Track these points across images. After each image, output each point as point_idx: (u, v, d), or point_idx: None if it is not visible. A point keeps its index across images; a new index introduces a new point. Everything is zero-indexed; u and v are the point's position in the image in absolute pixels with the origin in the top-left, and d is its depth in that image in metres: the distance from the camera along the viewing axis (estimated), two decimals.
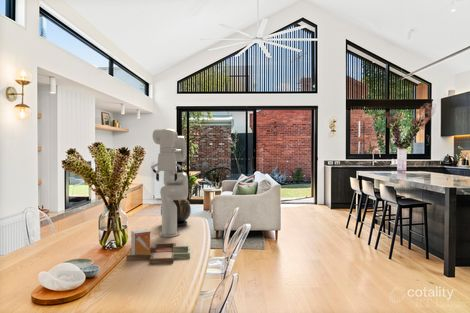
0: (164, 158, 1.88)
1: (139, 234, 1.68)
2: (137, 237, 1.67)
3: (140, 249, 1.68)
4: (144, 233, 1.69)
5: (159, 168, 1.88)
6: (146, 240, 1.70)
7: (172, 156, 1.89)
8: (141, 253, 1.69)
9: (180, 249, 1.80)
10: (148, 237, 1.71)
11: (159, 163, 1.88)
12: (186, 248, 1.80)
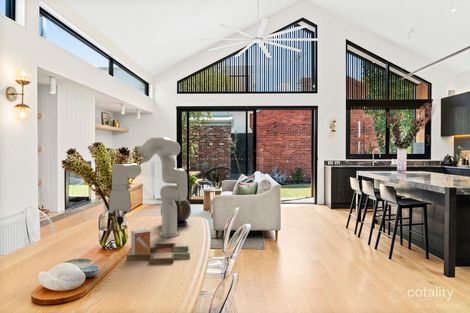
0: (116, 197, 1.67)
1: (139, 234, 1.68)
2: (137, 237, 1.67)
3: (140, 249, 1.69)
4: (144, 233, 1.69)
5: (111, 208, 1.67)
6: (146, 240, 1.70)
7: (126, 194, 1.68)
8: (141, 253, 1.69)
9: (180, 249, 1.80)
10: (148, 237, 1.71)
11: (111, 202, 1.67)
12: (186, 248, 1.80)
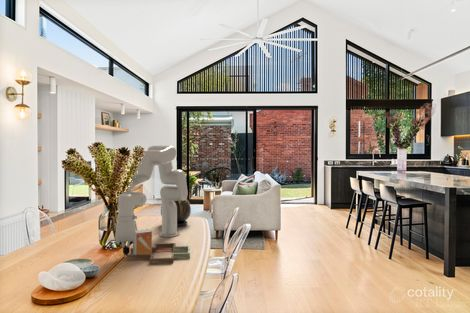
0: (122, 228, 1.68)
1: (140, 234, 1.68)
2: (138, 237, 1.67)
3: (141, 249, 1.68)
4: (146, 233, 1.69)
5: (117, 239, 1.68)
6: (148, 240, 1.70)
7: (132, 225, 1.69)
8: (142, 253, 1.69)
9: (180, 249, 1.80)
10: (150, 237, 1.70)
11: (117, 233, 1.68)
12: (186, 248, 1.80)
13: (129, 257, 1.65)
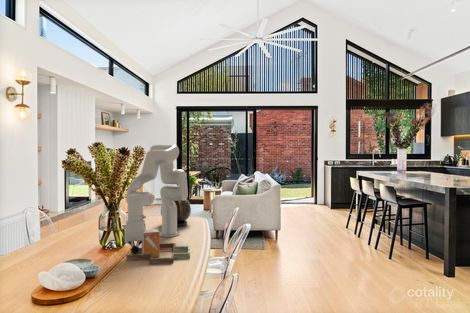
0: (131, 227, 1.68)
1: (148, 234, 1.68)
2: (146, 236, 1.68)
3: (149, 249, 1.69)
4: (153, 233, 1.69)
5: (126, 238, 1.69)
6: (155, 240, 1.70)
7: (142, 224, 1.69)
8: (150, 253, 1.69)
9: (180, 249, 1.80)
10: (157, 237, 1.70)
11: (126, 233, 1.68)
12: (186, 248, 1.80)
13: (129, 257, 1.65)
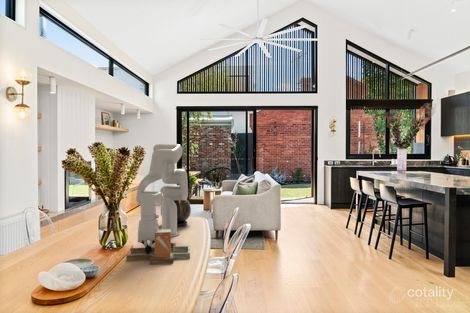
0: (144, 227, 1.69)
1: (159, 233, 1.69)
2: (157, 236, 1.68)
3: (160, 249, 1.69)
4: (164, 233, 1.69)
5: (139, 238, 1.69)
6: (166, 241, 1.69)
7: (155, 224, 1.70)
8: (161, 253, 1.69)
9: (180, 249, 1.80)
10: (168, 237, 1.70)
11: (140, 232, 1.69)
12: (186, 248, 1.80)
13: (129, 257, 1.65)
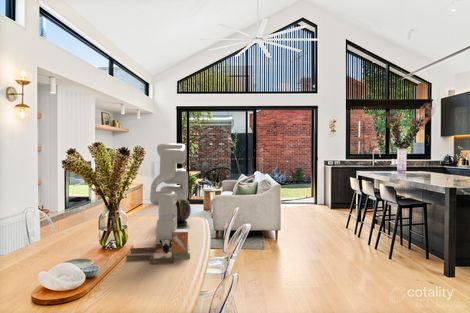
0: (162, 226, 1.70)
1: (176, 233, 1.69)
2: (174, 236, 1.69)
3: (177, 248, 1.70)
4: (181, 233, 1.70)
5: (158, 237, 1.70)
6: (183, 240, 1.70)
7: (172, 223, 1.71)
8: (178, 252, 1.70)
9: None
10: (185, 237, 1.70)
11: (158, 232, 1.70)
12: None
13: (129, 257, 1.65)
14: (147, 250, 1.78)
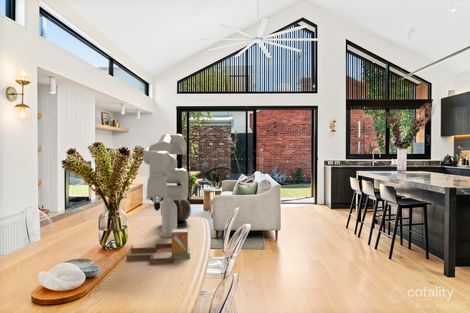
0: (153, 184, 1.72)
1: (176, 233, 1.69)
2: (174, 236, 1.69)
3: (177, 248, 1.70)
4: (181, 233, 1.70)
5: (149, 194, 1.72)
6: (183, 240, 1.70)
7: (163, 181, 1.73)
8: (178, 252, 1.70)
9: None
10: (185, 237, 1.70)
11: (149, 189, 1.72)
12: None
13: (129, 257, 1.65)
14: (147, 250, 1.78)
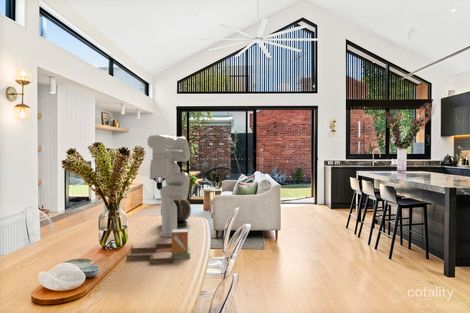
0: (156, 164, 1.86)
1: (176, 233, 1.69)
2: (174, 236, 1.69)
3: (177, 248, 1.70)
4: (181, 233, 1.70)
5: (152, 174, 1.86)
6: (183, 240, 1.70)
7: (165, 162, 1.87)
8: (178, 252, 1.70)
9: None
10: (185, 237, 1.70)
11: (152, 169, 1.86)
12: None
13: (129, 257, 1.65)
14: (147, 250, 1.78)
